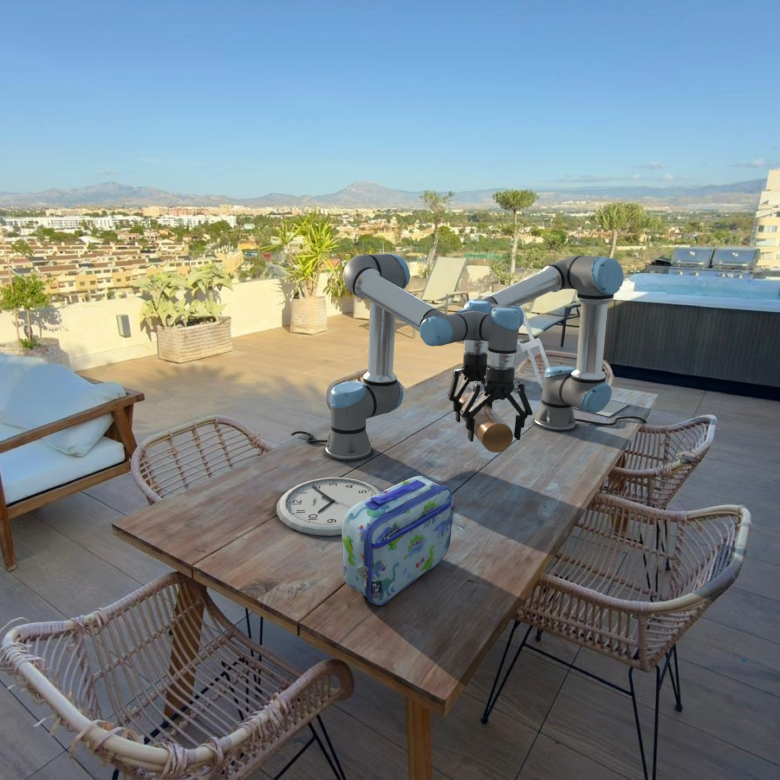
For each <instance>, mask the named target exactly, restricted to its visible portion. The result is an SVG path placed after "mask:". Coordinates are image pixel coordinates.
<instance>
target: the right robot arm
mask: <svg viewBox="0 0 780 780" xmlns="http://www.w3.org/2000/svg"><path fill="white" fill-rule="evenodd" d="M624 276H625V275H624V269H623V266H622V265H621V264H620V263H619V261H618V260H616V259H615V258H611V257H606V256H595V255H583V254H582V255H581V254H580V255H572V256H568V257H566V258H563V259H560V260H558V261H555V262H553V263H551V264H548V265H547V266H544V268H543V269H542V271H540V272H539V273H536V274H534V275H532V276H529V277H528V278H525V279H523V280H521V281H519V282H517V283H515V284H512V285H510V286H508V287H505V288H504V289H502V290H500V291H497V292H495V293H493V294H491V295H489V296H486V297H484V298H482V299H477V298H475V299H470V300H468V301H466V302H465V304H464V307H463V309H465V310H469V309H470V310H474V311H478V312H483V313H489V314H491V311H492V309H493V308H497V307H505V308H513V309H516V310H518V311H519V313H520V324H519V325H520V328H521V327H522V326H523V324H524V313H523V311H522V309H521V307H522V306H523V305H525V304H527V303H529V302H532V301H534V300H535V299H537V298H540V297H542V296H544V295H547V294H548V293H551V292H552V293H557V292H560V291H563V290H575V291H576V290H577V292H576V299H578V300H579V302H580V315H579V327H578V339H577V340H578V342H577V351H576V352H577V354H576V363H575V364H576V365H575V367H574V366H566V365H565V366H564V365H559V366H558V365H557V366H550V367H549V368H547V369H546V368H545V370H544V375H543V378H542V379H543V380H542V382H543V389H542V392H541V402H540V405H539V407H538V410H537V411H536V413H535V417H534V424H535V425H536V426H537V427H539V428H542V429H544V430H549V431H556V432H567V431H572V430H574V429H575V428H576V422H579V423H585V424H591V425H597V426H605V427H611V426H615V425H617V423H618V421H619V420H629V419H635V420H638V421H641V422H643V423H644V424H648V421H647V420H646V419H644V418H642V417H640V416H635V415H627V416H626V415H625V416H618V417H615V418H614V421H613V422H598V421H594V420H593V421H592V420H586V419H581V418H575V417H576V416H575V413H574V407H576V408H578V409H577V410H580V409H581V411H582V412H586V413H590V414H596V413H597V412H599V411H601V410H602V409H604V408H605V406H606V405H607V404H608V403H609V401H611V398H612V393H613V391H612V388H611V386H610V385H609V384H608V383H607V382H606V379H607V374H606V373H605V372H604V371H603V361H604V353H605V352H604V351H605V341H606V331H607V319H608V309H609V303H610V302H611V301H613V300H614V297H615V294H617V293H618V292H619V291H620V289H621V287H622V286H623V284H624V280H625V279H624V278H625V277H624ZM488 343H489V342H487V341H482V340H477V339H470V340H465V341H463V351H464V352H463V355H462V356H463V357H462V367H461V368H459V369H456V368H453V370H452V378H451V383H450V387H449V391H448V394H447V398H448V400H449V401H450V402H452V404H453V405H452V410H453V412H455V421H456V422H457V423H461V416H460V411H461V402H460V401H459V400H460V398H461V397H462V396H463V395H464V393H465V391H466V389H467V387H468V385H470V383H471V382H480V384H484V383H485V380H486V376H485V375H486V367H487V356H488V353H487V352H488ZM461 374H463V377H462V381H461V383H460V384H459V386H458V383H459V379H460V377H461ZM457 387H458V388H457ZM483 391H484V392H485V390H484V389H483ZM494 402H495V400H493V399H491V400H490V401H489V402H487V403H486V404H487V405H488V406H489V407H490V408H491V409H492V410H493V403H494ZM576 408H575V409H576Z"/></svg>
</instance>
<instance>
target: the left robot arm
mask: <svg viewBox="0 0 780 780" xmlns="http://www.w3.org/2000/svg"><path fill="white" fill-rule="evenodd" d="M342 278H343V283H344V285H345V287H346V289H348V291H349V292H350V293H351V294H353V295H354V296H356V297H357V298H358V299H361V300H368V301H369V321H368V322H369V323H368V325H369V326H368V357H367V358H368V359H367V360H368V361H367V371H366V373H364V374H363V375H362V376H363V377H362V381H363V382H362V381H358V380H351V381H344V382H340V383H338V384H336V385H334V386H333V388H331V391H330V397H329V404H330V433H329V435H328V439H313V438H314V435H313V434H312V433H310V432H307V431H304V430H303V431H302V430H296V431H293V432H292V433H291V434H290V436H292V437H293V436H295V435H298V434H301V435H306V436H308V438H306V440H305V441H306V443H308V444H316V443H326V446H325V453H326V455H327V456H328V457H329V458H331V459H332V460H333V459H334V460H337V461H342V462H343V461H347V462H353V461H359V460H362V459H366V458H367V457H369V456H370V455H371V453H372V444H371V443H372V442H373V440H372V437H371V436H370V437H369V435H368V433H367V419H371V418H373V417H378V416H381V415H385V414H389V413H391V412H393V411H395V410H398V409H399V408H400V406H401V405H402V402H403V400H404V399H403V398H404V389H403V387H402V383H401V382H400V381H399V380H398V376H397V375H396V374H395V372H394V359H395V339H396V318H397V319H398V320H400V321H401V322H404V323H405V324H406V325H408V326H409V327H411V328H413V329H414V330H416V331H417V332H419V336H420V338H421V339H422V341H423V343H424V344H425V345H427V346H429V347H443V346H446V345H450V344H455V343H459V342H464V341H465V340H470V339H477V340H482V341H487V342H489V343H488V356H487V364H488V366H487V367H486V376H485V383H484V384H481V383H478V382H477V381H474V383H473V384H472V390H471V392H469V393H470V395H469V397H468V399H467V400H466V402H465V404H464V405H463V407H462V409H461V411H460V414H461V415H462V417H465V418H466V422H465V428H466V430H467V439H468V441H469V442H470V443H473V442H474V439H475V437H474V436H475V434H474V426H475V419H474V418H473V417H474V416H475V415H476V414H477V413H478V412H479V411H480V410H481V408H482V407H483V406H484V405H485V404H486V403H487V402H489V401H490V400H491V399H493V400H494V401H497V400H500V401H504V400H506V399H507V400H508V402H509V403H510V404H511V406H512V407H513V408H514V410H516V412H517V413H518V414H516V415H515V421H514V422H515V423H514V431H513V438H515V440H516V441H520V440H521V435H522V429H524V428H525V423H526V419H527V418H528V417H529V416H533V414H534V413H533V410H532V407H531V405H530V402H529V399H528V397H527V394H526V392H525V384H523V382H521V381H517V382H516V383H514V381H515V372H516V369H515V367H516V366H515V363H516V353H517V352H516V351H517V341H518V340H519V332H520V328H521V327H520V325H519V324H520V313H519V311H518V310H516V309H513V308H505V307H497V308H493V309H492V311H491V314H489V313H483V312H478V311H474V310H470V309H469V310H465V309H464V308H460V309H458V310H456V312H455V313H450V314H446V313H445V312H443V311H441V310H439V309H437V308H436V307H434V306H432V305H431V304H428V303H427V302H425V301H423V300H422V299H420V298H418V297H417V296H415V295H413V294H411V293H410V292H408V291H406V290H405V289H406V288H407V286H408V285H409V283H410V279H411V274H410V268H409V266H408V263H407V262H406V261H405V259H404V258H403V257H402V256H401V255H398V254H395V253H374V254H372V253H371V254H358V255H355V256H354V257H352V258H350V259H349V260H348V261H347V262H346V264H345V266H344V268H343V273H342ZM514 366H515V367H514ZM484 390H485V391H484ZM514 390H515V391H516V392H517V394H518V396H519V399H520V401H521V404H522V407H523V408H522V407H521V406H520V405H519V403H518V402H517V401H516V399H515V397H514V396H513V395H512V394H511V393H512V392H513V391H514ZM482 391H484V392H483V393H482ZM480 393H482V395H481V396H480ZM478 396H480V397H481V398H480V399H479V400H478V401H477V402H476V403H475V404H474V402H475V400H476V398H477V397H478ZM473 404H474V405H473ZM472 405H473V407H472ZM471 407H472V408H471ZM523 409H524V410H523ZM462 417H461V418H462ZM307 433H308V434H307ZM369 438H370V439H369Z"/></svg>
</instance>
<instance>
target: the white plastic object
mask: <svg viewBox="0 0 780 780" xmlns="http://www.w3.org/2000/svg"><path fill="white" fill-rule="evenodd" d="M520 308H521V309H522V311H523V313H524V321H523V324H524V326H525V329H526V331H527V335H528V338H529V341H527V342H524V343H522V342H520V341H519V339H518V341H517V351H516V352H517V353H516V363H515V366H514V368H515V367H517V366H518V365H519V364H521V363H523V362H524V361H526V360H527V359H528V357H529V360H530V363H531V366H532V369H533V372H534V375H535V379H536V382H537V383H538V385H539V386H540V388H541V389H542V390H543V380H542V379H543V378H542V377H541V373H540V371H539V367H538V364H537V362H536V359H535V355H534V354H537V353H540V354H541V357H542V360H543V363H544V366H545V370H546V369H547V368H549V367H551V365H550V363H549V360H548V356H547V354H546V352H545V351H546V350H545V348H544V346H543V342H542V341H541V339H540V337H537V338H535V337H534V334H533V330H532V328H531V325H530V323H529V319H528V316H527V313H526V311H525V309H524V307H523V306H520ZM487 353H488V352H487ZM487 366H488V364H487ZM484 377H486V375H485V376H484Z"/></svg>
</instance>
